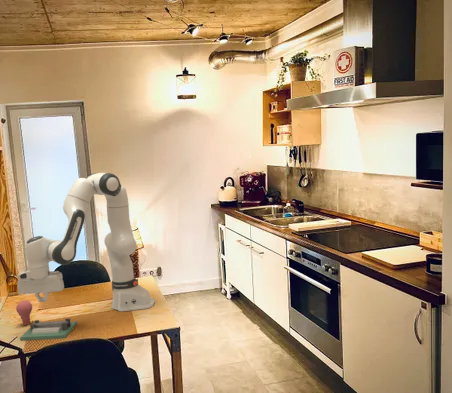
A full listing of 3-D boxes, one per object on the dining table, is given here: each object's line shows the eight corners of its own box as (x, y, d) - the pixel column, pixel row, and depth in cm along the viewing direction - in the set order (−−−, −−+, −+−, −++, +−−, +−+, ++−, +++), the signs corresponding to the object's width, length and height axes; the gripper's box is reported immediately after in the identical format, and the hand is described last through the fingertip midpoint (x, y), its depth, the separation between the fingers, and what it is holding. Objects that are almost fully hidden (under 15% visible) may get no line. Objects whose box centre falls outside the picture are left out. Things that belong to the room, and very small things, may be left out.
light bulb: (18, 328, 218) (15, 304, 217) (18, 323, 225) (15, 300, 223) (34, 325, 221) (31, 301, 220) (34, 320, 227) (31, 297, 226)
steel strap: (69, 323, 213) (68, 319, 212) (66, 325, 210) (66, 322, 209) (33, 325, 213) (32, 321, 213) (30, 327, 210) (30, 324, 210)
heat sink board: (77, 324, 219) (76, 314, 219) (64, 338, 203) (63, 327, 203) (35, 326, 220) (34, 316, 219) (20, 340, 204) (19, 329, 203)
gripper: (64, 268, 211) (67, 297, 213) (20, 271, 212) (24, 300, 214) (59, 272, 205) (62, 302, 207) (14, 275, 206) (18, 305, 207)
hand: (42, 301), depth 210 cm, fingers closed
